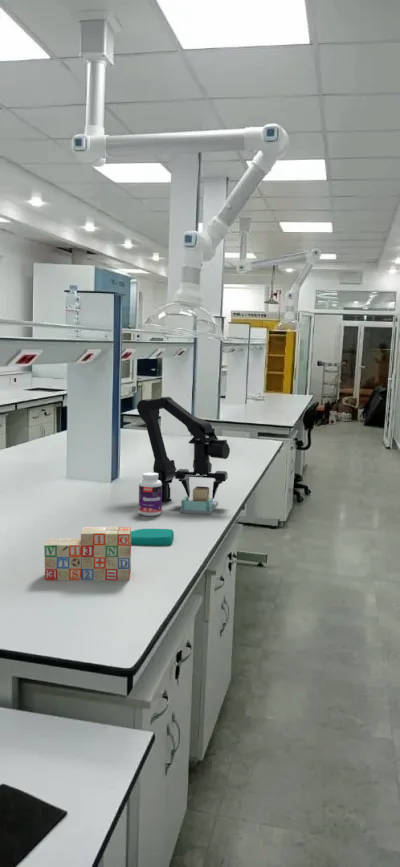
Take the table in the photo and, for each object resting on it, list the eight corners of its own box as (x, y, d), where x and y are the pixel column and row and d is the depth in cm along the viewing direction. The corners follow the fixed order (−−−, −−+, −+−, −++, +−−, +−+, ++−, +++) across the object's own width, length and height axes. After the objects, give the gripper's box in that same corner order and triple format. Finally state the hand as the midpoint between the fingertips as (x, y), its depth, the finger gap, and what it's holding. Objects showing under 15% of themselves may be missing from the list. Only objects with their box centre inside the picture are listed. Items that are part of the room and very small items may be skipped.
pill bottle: (141, 517, 224) (141, 476, 222) (137, 511, 232) (136, 472, 230) (164, 516, 226) (164, 475, 224) (159, 510, 234) (159, 471, 232)
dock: (210, 514, 229) (210, 502, 229) (179, 512, 231) (180, 500, 231) (217, 504, 244) (218, 493, 243) (189, 502, 246) (189, 491, 245)
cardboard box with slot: (206, 505, 237) (206, 490, 236) (192, 504, 238) (192, 489, 237) (209, 501, 243) (209, 486, 242) (196, 501, 244) (196, 486, 243)
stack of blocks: (44, 581, 163) (43, 533, 161) (48, 572, 169) (47, 526, 167) (130, 580, 164) (129, 533, 162) (131, 572, 170) (131, 526, 168)
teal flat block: (171, 547, 192) (89, 546, 193) (175, 537, 203) (97, 535, 204) (170, 538, 191) (88, 536, 193) (174, 527, 202) (97, 526, 204)
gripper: (230, 454, 244) (229, 494, 246) (182, 451, 248) (181, 491, 250) (225, 458, 233) (224, 501, 235) (174, 456, 237) (174, 498, 239)
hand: (201, 497), depth 240 cm, fingers open, 9 cm apart
